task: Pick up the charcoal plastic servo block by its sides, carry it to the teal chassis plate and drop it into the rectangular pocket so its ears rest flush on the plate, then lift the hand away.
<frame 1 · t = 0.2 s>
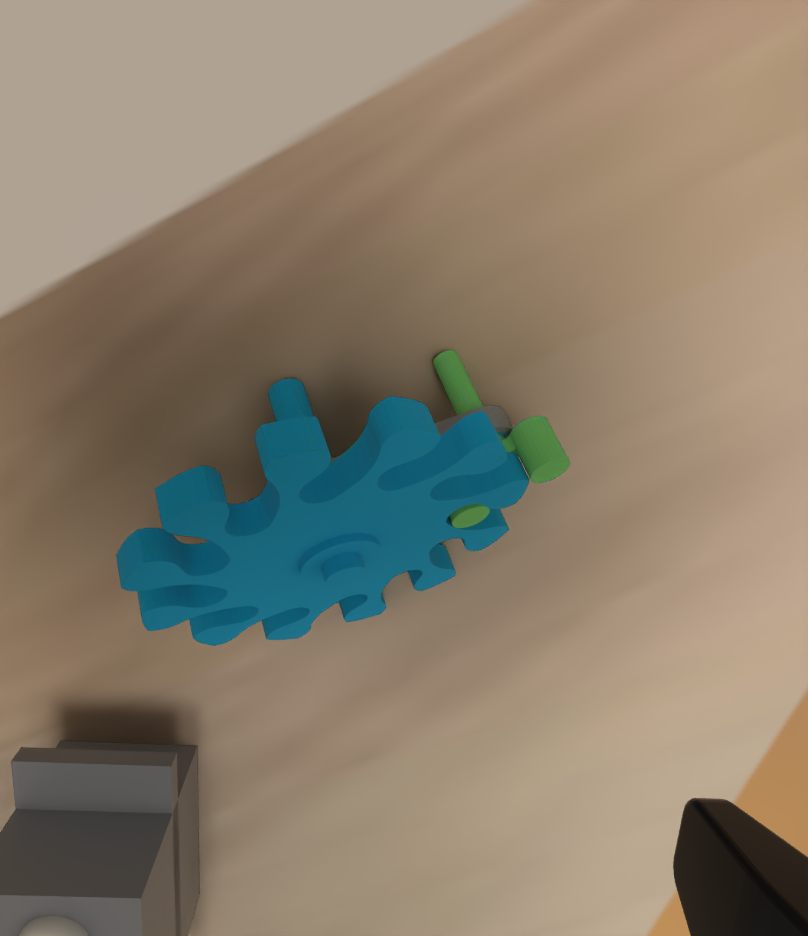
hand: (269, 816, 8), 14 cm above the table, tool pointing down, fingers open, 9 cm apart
gear: (358, 483, 22), on the table
servo: (133, 818, 25), on the table
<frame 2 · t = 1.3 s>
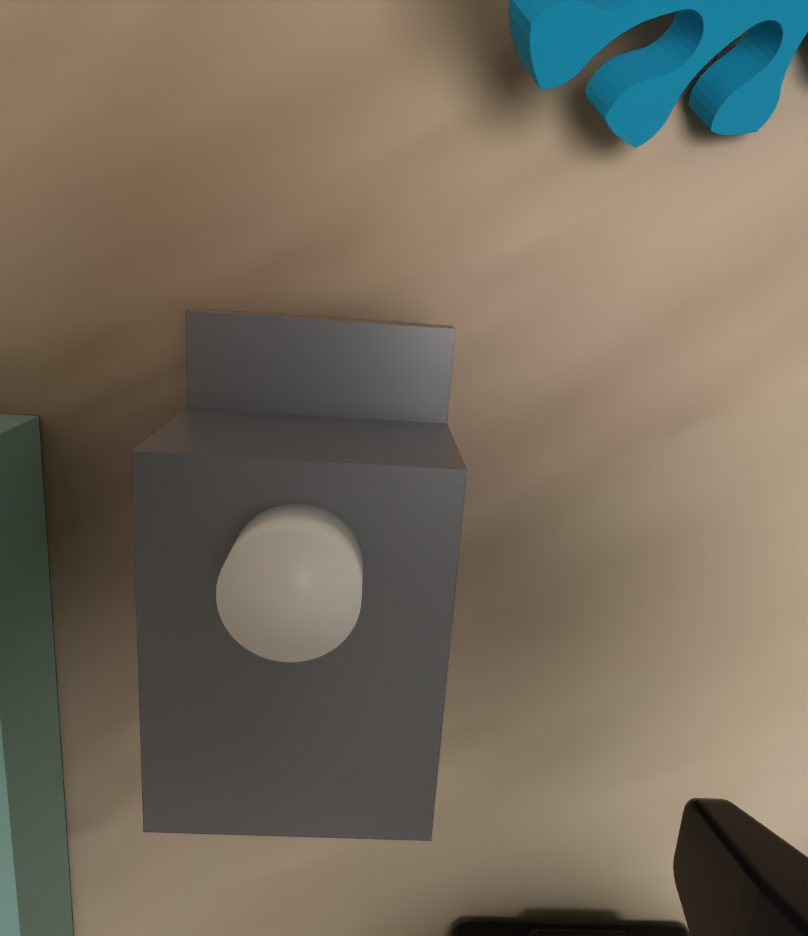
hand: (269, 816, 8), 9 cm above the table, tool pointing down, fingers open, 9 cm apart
servo: (323, 520, 16), on the table
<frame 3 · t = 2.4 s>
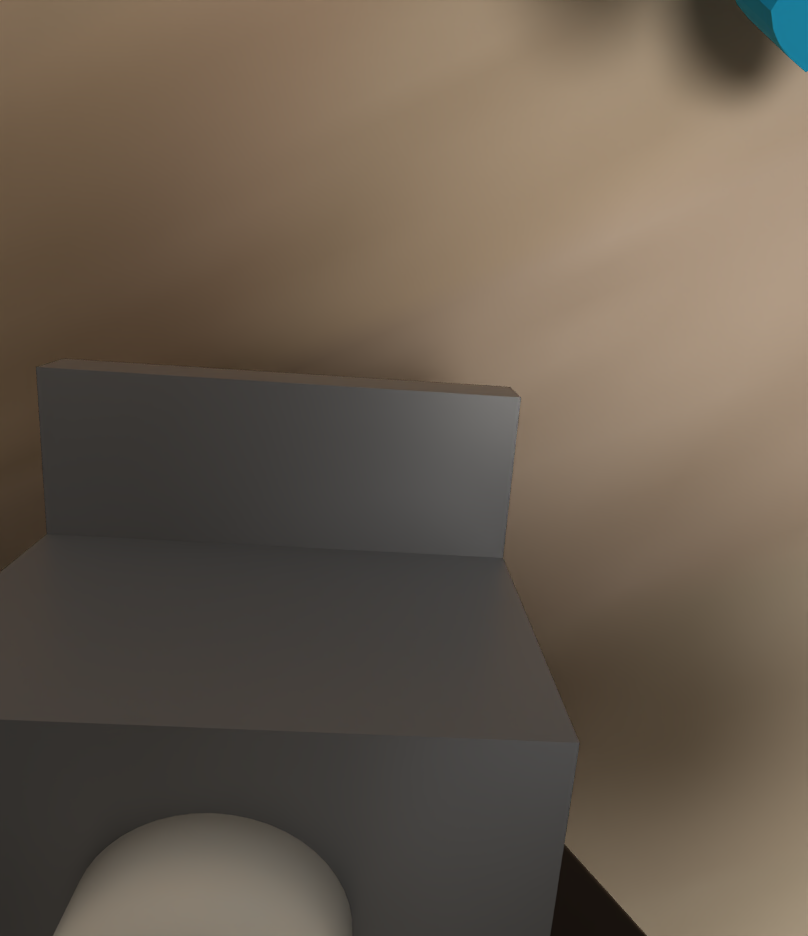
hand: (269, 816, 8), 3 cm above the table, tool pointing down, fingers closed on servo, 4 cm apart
servo: (301, 657, 11), on the table, touching gripper
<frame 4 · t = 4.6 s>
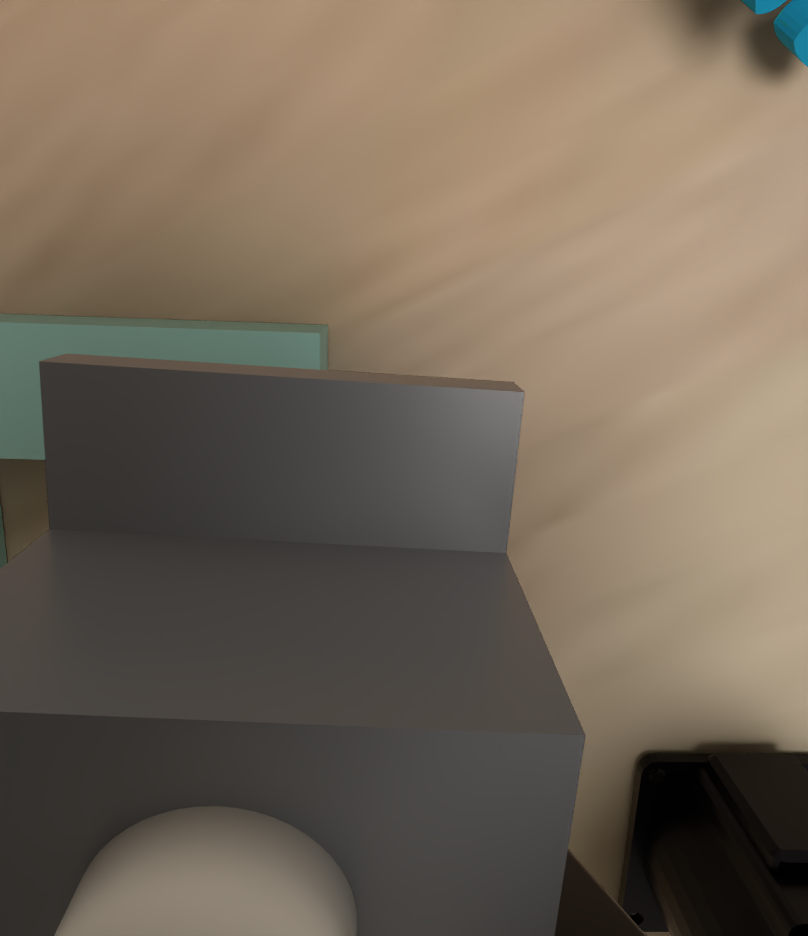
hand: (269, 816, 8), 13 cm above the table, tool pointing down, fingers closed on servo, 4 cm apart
chassis plate: (114, 567, 21), on the table
servo: (303, 654, 11), point 10 cm above the table, touching gripper
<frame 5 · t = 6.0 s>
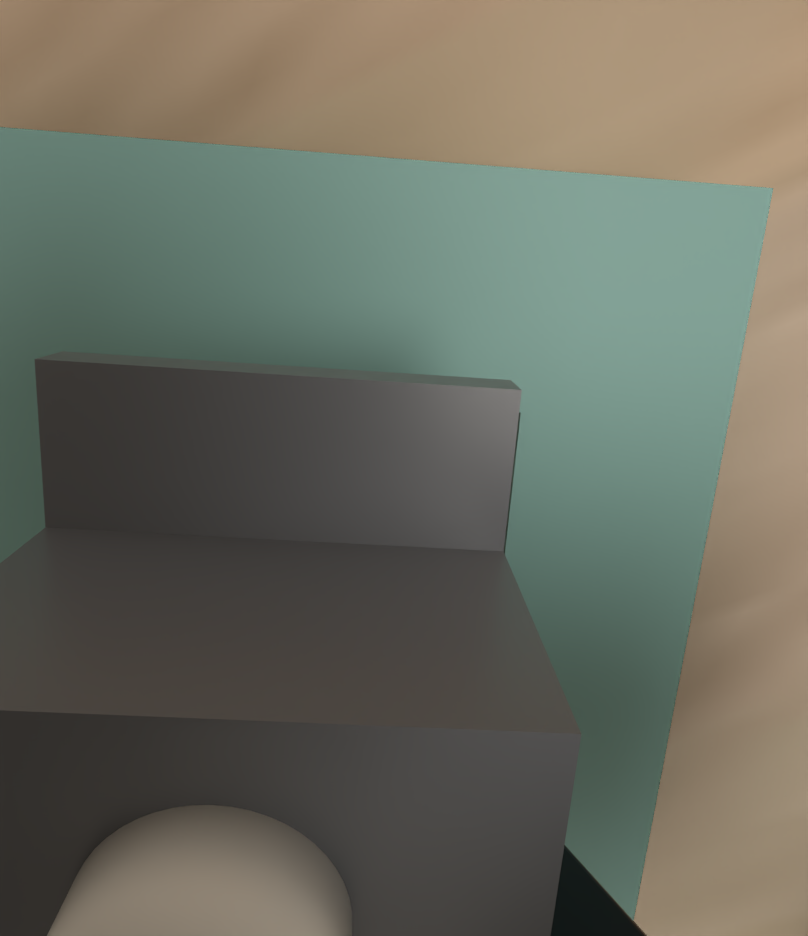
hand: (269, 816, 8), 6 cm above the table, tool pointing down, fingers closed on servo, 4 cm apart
chassis plate: (313, 577, 14), on the table
servo: (301, 653, 11), point 3 cm above the table, touching gripper
when the fingers open (4 cm above the table, at t = 7.1 s): servo stays where it is, resting on chassis plate.
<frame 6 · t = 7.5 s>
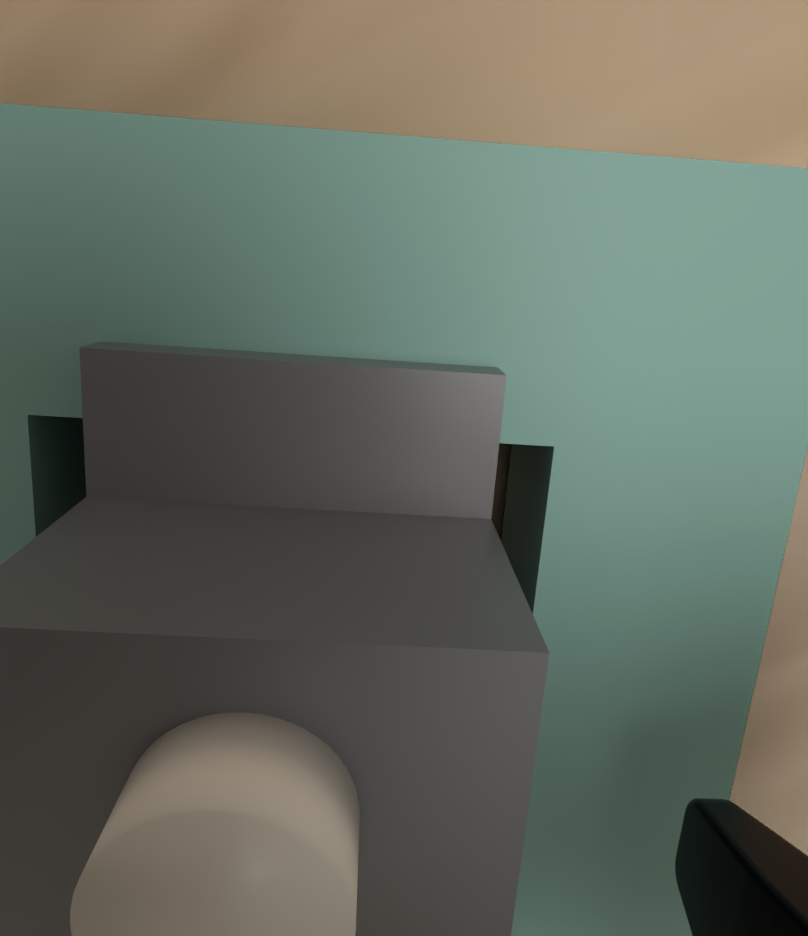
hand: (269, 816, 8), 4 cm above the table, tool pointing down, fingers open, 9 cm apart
chassis plate: (305, 626, 12), on the table
servo: (308, 622, 12), resting on chassis plate
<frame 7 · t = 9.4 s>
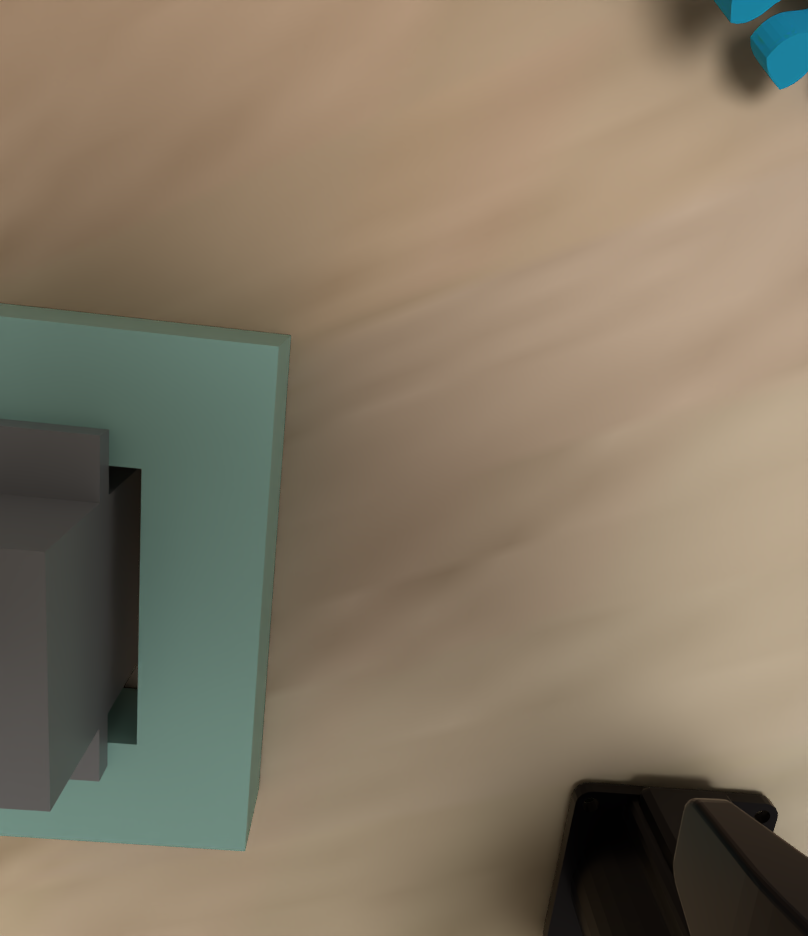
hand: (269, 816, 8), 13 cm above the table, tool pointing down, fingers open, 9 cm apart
chassis plate: (57, 563, 21), on the table
servo: (59, 561, 21), resting on chassis plate
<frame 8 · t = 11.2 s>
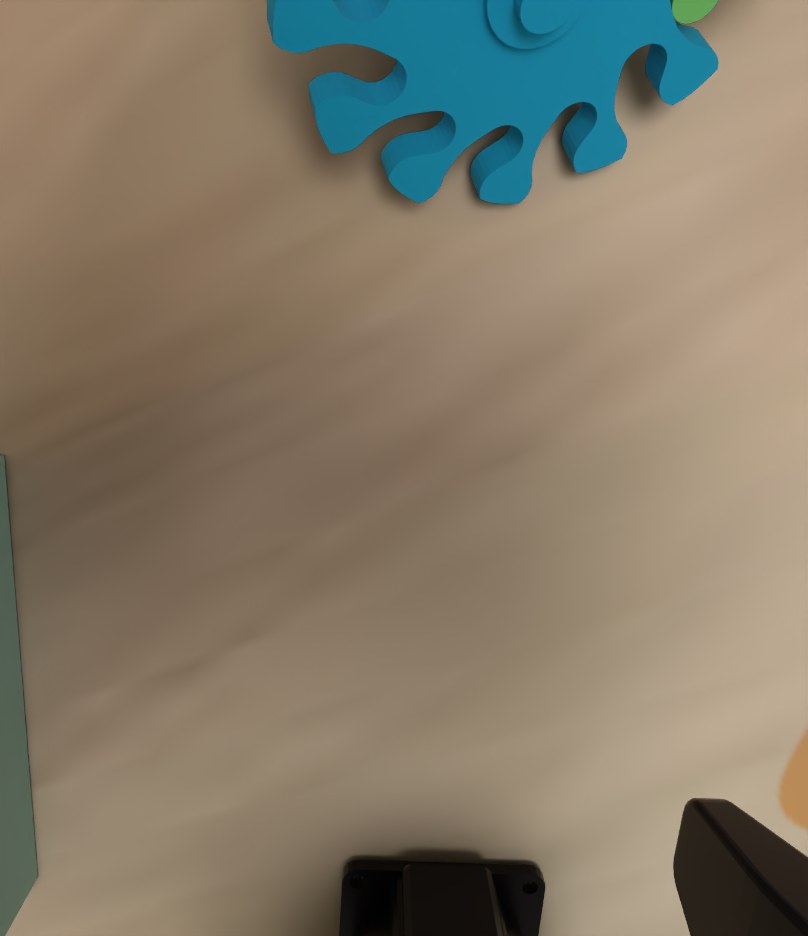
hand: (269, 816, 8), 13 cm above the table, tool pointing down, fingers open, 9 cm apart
gear: (518, 31, 18), on the table
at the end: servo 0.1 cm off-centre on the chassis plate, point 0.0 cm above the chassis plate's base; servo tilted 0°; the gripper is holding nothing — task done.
